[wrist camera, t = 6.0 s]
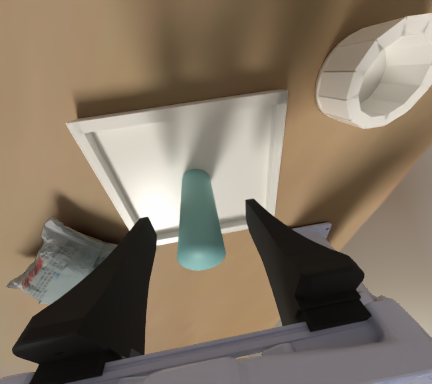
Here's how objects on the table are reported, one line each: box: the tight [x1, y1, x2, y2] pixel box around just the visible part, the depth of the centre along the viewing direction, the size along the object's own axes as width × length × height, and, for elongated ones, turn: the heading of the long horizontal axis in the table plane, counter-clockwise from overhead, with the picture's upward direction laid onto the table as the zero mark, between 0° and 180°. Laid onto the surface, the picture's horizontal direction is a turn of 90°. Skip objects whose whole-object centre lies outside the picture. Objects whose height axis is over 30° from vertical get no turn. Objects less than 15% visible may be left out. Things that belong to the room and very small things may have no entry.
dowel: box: [177, 169, 226, 270], centre depth 13 cm, size 3×3×8 cm
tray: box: [66, 89, 289, 245], centre depth 17 cm, size 14×16×2 cm
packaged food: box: [7, 217, 118, 304], centre depth 19 cm, size 9×12×5 cm
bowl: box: [315, 13, 432, 129], centre depth 13 cm, size 6×6×4 cm
